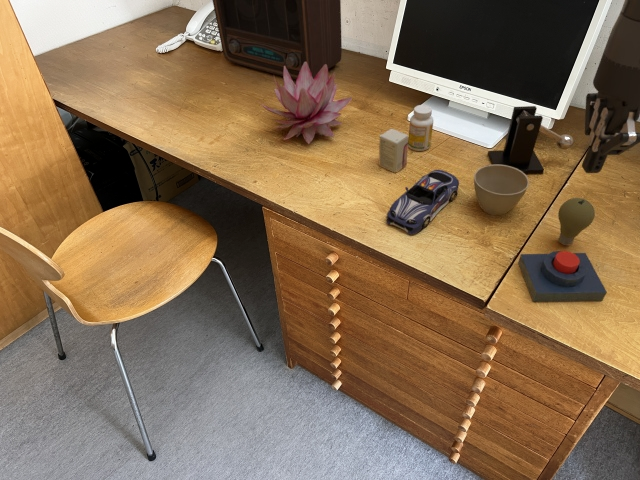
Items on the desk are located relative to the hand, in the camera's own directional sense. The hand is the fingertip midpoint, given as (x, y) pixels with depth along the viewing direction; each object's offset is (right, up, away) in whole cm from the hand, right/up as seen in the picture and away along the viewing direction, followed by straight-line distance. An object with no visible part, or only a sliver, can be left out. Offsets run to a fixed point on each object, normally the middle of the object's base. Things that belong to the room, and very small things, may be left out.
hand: (590, 170), depth 70 cm
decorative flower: (-43, +18, +52) cm, 70 cm away
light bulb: (+5, -11, +17) cm, 21 cm away
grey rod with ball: (+7, +12, +31) cm, 34 cm away
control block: (+1, -17, +11) cm, 20 cm away
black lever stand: (+3, +7, +36) cm, 37 cm away
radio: (-53, +45, +83) cm, 108 cm away
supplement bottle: (-16, +12, +44) cm, 48 cm away
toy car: (-19, -4, +27) cm, 33 cm away
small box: (-23, +6, +38) cm, 46 cm away
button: (0, -15, +8) cm, 17 cm away
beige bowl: (-5, -4, +26) cm, 26 cm away
